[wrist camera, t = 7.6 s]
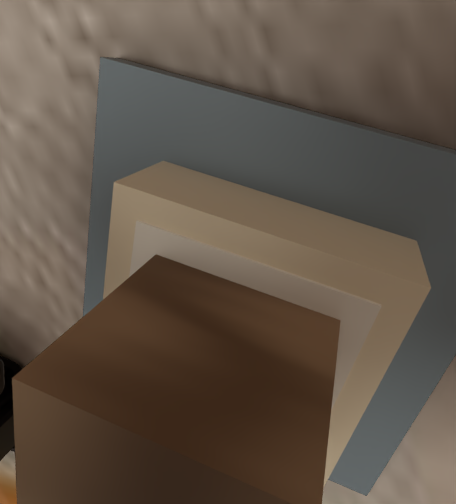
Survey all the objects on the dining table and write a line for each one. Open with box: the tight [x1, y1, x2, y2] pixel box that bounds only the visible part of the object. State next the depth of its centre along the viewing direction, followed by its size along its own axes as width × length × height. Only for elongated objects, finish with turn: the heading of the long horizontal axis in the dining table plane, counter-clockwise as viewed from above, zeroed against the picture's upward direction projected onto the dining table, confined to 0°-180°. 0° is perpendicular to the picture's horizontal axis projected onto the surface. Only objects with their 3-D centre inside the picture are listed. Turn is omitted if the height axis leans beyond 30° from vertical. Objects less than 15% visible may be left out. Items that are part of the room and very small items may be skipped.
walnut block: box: [12, 254, 341, 504], centre depth 9 cm, size 5×5×5 cm
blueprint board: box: [83, 57, 456, 496], centre depth 13 cm, size 13×13×4 cm
